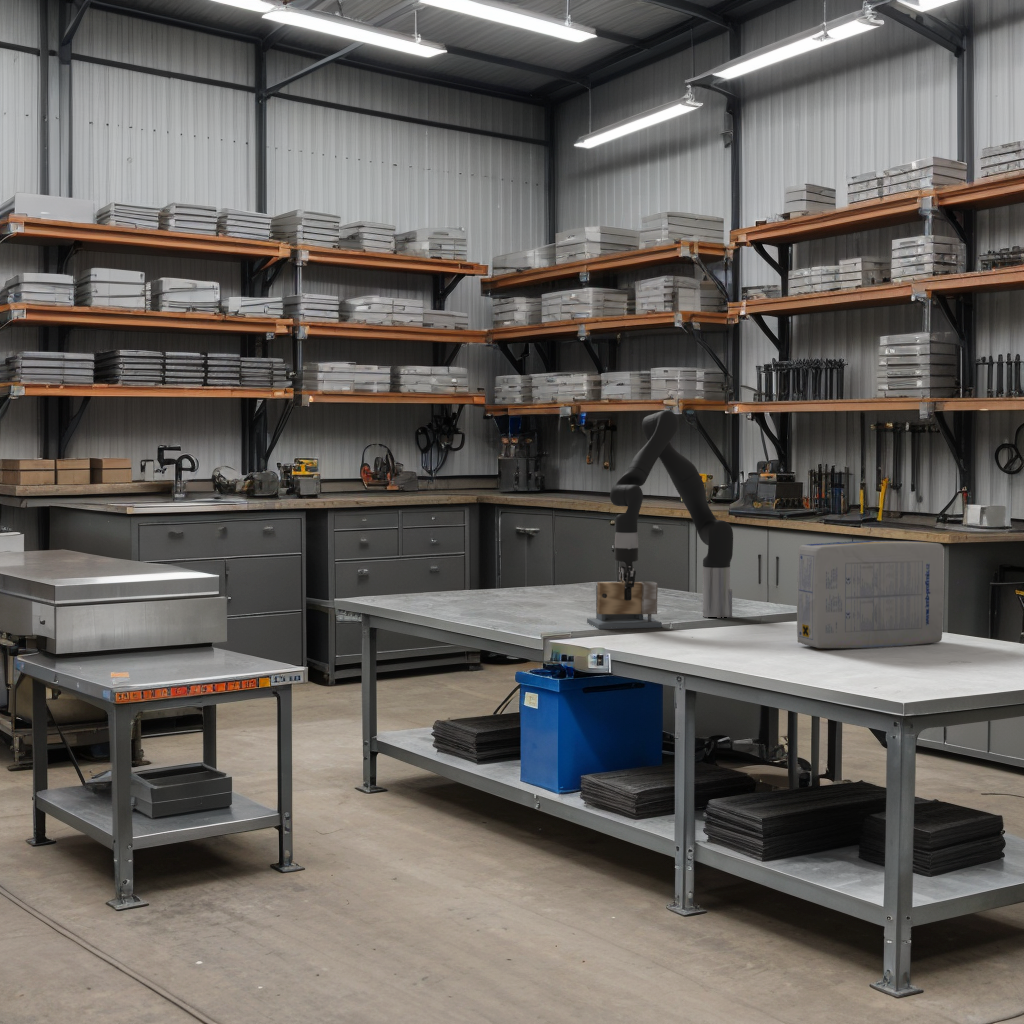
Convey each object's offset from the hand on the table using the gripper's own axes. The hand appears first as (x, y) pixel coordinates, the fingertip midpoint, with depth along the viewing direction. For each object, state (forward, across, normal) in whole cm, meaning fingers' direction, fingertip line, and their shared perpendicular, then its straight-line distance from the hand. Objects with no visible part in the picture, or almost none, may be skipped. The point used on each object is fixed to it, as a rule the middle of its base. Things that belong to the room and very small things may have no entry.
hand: (626, 599), depth 393 cm
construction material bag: (+9, +53, +58) cm, 79 cm away
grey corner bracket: (+9, -4, 0) cm, 10 cm away
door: (+5, 0, 0) cm, 5 cm away
